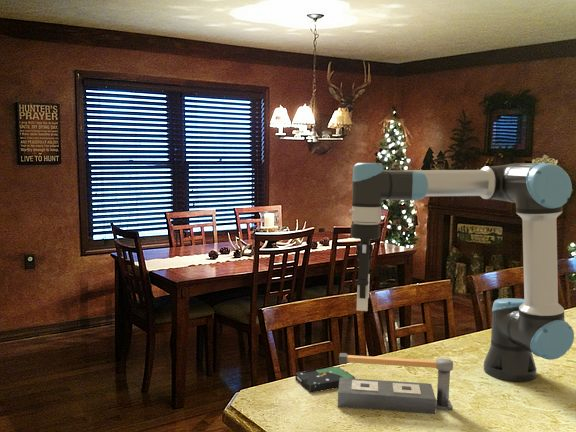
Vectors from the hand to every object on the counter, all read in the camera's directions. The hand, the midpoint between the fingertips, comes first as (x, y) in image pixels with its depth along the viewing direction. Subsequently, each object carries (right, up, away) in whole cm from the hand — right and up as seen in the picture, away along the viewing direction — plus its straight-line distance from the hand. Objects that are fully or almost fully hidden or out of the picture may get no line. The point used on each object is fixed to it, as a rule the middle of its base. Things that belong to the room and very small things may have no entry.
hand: (363, 303), depth 143 cm
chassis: (+7, -27, +4) cm, 28 cm away
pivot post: (+21, -28, +2) cm, 35 cm away
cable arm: (+9, -17, +3) cm, 19 cm away
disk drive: (-9, -26, +17) cm, 33 cm away
